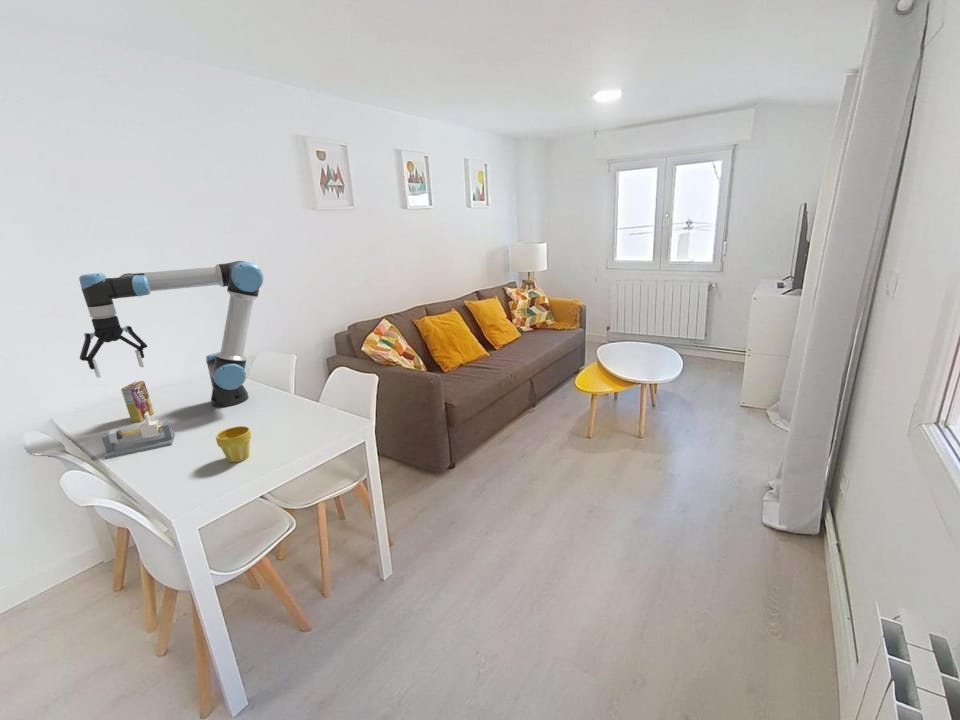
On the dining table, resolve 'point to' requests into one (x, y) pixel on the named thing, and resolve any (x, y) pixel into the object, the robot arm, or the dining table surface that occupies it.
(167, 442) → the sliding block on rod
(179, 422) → the dining table surface
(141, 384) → the candy box
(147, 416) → the cream slider carriage
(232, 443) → the plant pot
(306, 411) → the dining table surface
